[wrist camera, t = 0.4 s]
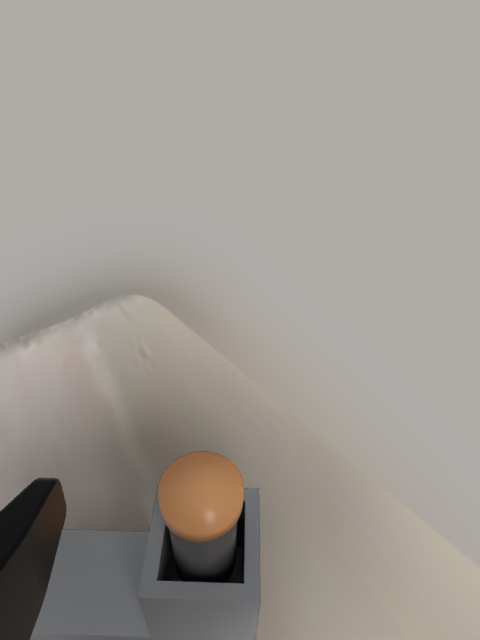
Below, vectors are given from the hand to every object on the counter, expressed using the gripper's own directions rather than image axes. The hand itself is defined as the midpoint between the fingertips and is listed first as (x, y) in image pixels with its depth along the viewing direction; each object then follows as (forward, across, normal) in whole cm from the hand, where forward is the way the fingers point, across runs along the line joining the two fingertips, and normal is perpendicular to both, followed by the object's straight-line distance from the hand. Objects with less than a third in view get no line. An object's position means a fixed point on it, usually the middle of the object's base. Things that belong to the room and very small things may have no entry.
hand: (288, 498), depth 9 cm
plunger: (+6, +2, +11) cm, 13 cm away
